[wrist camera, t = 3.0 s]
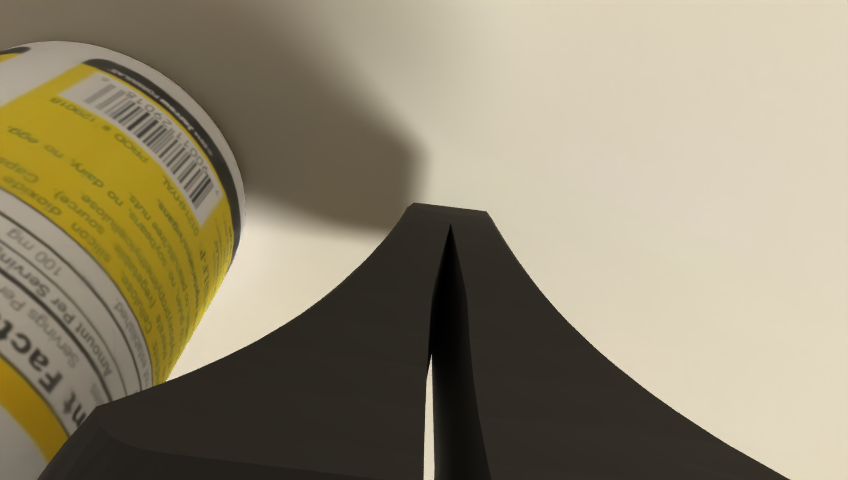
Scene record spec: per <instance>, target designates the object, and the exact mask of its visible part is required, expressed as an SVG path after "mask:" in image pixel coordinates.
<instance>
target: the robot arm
mask: <svg viewBox="0 0 848 480" xmlns="http://www.w3.org/2000/svg"><path fill="white" fill-rule="evenodd" d="M431 355H432V385H433V424H434V462H435V473H434V480H790V479H788V478H786V477H784V476H783V475H781V474H779V473H777V472H775V471H774V470H772V469H770V468H768V467H767V466H765V465H763V464H761V463H759V462H758V461H756V460H754V459H752V458H751V457H749V456H747V455H745V454H744V453H742V452H740V451H738V450H736V449H735V448H733V447H731V446H729V445H728V444H726V443H724V442H723V441H721V440H719V439H718V438H716V437H715V436H713V435H712V434H710V433H709V432H707V431H706V430H704V429H702V428H701V427H699V426H698V425H696V424H695V423H693V422H692V421H690V420H689V419H687V418H686V417H684V416H683V415H681V414H680V413H678V412H677V411H675V410H674V409H672V408H671V407H669V406H668V405H667V404H665V403H664V402H662V401H661V400H660V399H658V398H657V397H655V396H654V395H653V394H651V393H650V392H648V391H647V390H646V389H645V388H643V387H642V386H641V385H639V384H638V383H637V382H636V381H634V380H633V379H632V378H631V377H629V376H628V375H627V374H626V373H624V372H623V371H622V370H621V369H619V368H618V367H617V366H615V365H614V364H613V363H612V362H611V361H610V360H608V359H607V358H606V357H605V356H604V355H603V354H601V353H600V352H599V351H598V350H597V349H596V348H595V347H594V346H593V345H592V344H590V343H589V342H588V341H587V340H586V339H585V338H584V337H583V336H582V335H581V334H580V333H579V332H578V331H577V330H576V329H575V328H574V327H573V326H572V325H571V324H570V323H569V322H568V321H567V320H566V319H565V318H564V317H563V316H562V315H561V314H560V313H559V312H558V311H557V310H556V308H555V307H554V306H553V305H552V304H551V303H550V301H549V300H548V299H547V298H546V297H545V296H544V294H543V293H542V292H541V291H540V290H539V288H538V287H537V286H536V285H535V283H534V282H533V281H532V279H531V278H530V276H529V275H528V274H527V272H526V271H525V270H524V268H523V267H522V265H521V264H520V263H519V261H518V260H517V258H516V257H515V255H514V254H513V252H512V251H511V249H510V248H509V246H508V245H507V243H506V242H505V240H504V238H503V237H502V235H501V234H500V232H499V230H498V229H497V227H496V225H495V223H494V222H493V220H492V218H491V217H490V216H489V214H488V213H487V212H486V211H479V210H471V209H462V208H454V207H446V206H438V205H430V204H421V203H413V204H412V205H410V206H409V207H408V208H407V209H406V211H405V213H404V214H403V216H402V217H401V219H400V220H399V222H398V223H397V224H396V226H395V227H394V228H393V230H392V231H391V232H390V233H389V235H388V236H387V237H386V238H385V239H384V240H383V242H382V243H381V244H380V245H379V246H378V247H377V248H376V249H375V250H374V252H373V253H372V254H371V255H370V256H369V257H368V258H367V259H366V260H365V261H364V262H363V263H362V264H361V265H360V266H359V267H358V268H357V269H355V270H354V271H353V272H352V273H351V274H350V275H349V276H348V277H347V278H346V279H345V280H344V281H343V282H342V283H340V284H339V285H338V286H337V287H336V288H335V289H333V290H332V291H331V292H330V293H328V294H327V295H326V296H325V297H323V298H322V299H321V300H320V301H318V302H317V303H315V304H314V305H313V306H311V307H310V308H309V309H307V310H306V311H305V312H303V313H302V314H300V315H299V316H297V317H296V318H294V319H293V320H291V321H289V322H288V323H286V324H285V325H283V326H281V327H280V328H278V329H276V330H275V331H273V332H271V333H269V334H268V335H266V336H264V337H263V338H261V339H259V340H258V341H256V342H254V343H252V344H250V345H248V346H246V347H244V348H242V349H240V350H238V351H236V352H234V353H232V354H230V355H228V356H226V357H224V358H221V359H219V360H217V361H215V362H213V363H210V364H208V365H206V366H204V367H201V368H199V369H197V370H195V371H192V372H190V373H187V374H185V375H183V376H180V377H178V378H175V379H172V380H169V381H167V382H164V383H161V384H158V385H156V386H153V387H150V388H148V389H145V390H142V391H139V392H137V393H134V394H131V395H128V396H126V397H123V398H120V399H117V400H114V401H111V402H108V403H105V404H102V405H99V406H96V407H95V408H94V409H93V411H92V412H91V413H90V414H89V416H88V417H87V418H86V419H85V421H84V422H83V423H82V424H81V425H80V426H79V427H78V428H77V430H76V431H75V432H74V433H73V434H72V435H71V436H70V437H69V438H68V440H67V441H66V442H65V443H64V444H63V446H62V447H61V448H60V449H59V451H58V452H57V453H56V455H55V456H54V457H53V459H52V460H51V461H50V462H49V464H48V465H47V466H46V468H45V469H44V471H43V472H42V473H41V475H40V476H39V478H38V479H37V480H423V478H424V432H425V402H426V380H427V374H428V370H429V365H430V360H431Z"/></svg>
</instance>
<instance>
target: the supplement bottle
mask: <svg viewBox="0 0 848 480" xmlns="http://www.w3.org/2000/svg"><path fill="white" fill-rule="evenodd" d="M245 216H246V207H245V194H244V187H243V182H242V178H241V174H240V171H239V168H238V166H237V163H236V160H235V158H234V155H233V153H232V151H231V149H230V148H229V146H228V144H227V142H226V140H225V139H224V137H223V135H222V133H221V132H220V130H219V129H218V127H217V126H216V125H215V123H214V122H213V121H212V120H211V118H210V117H209V116H208V115H207V113H206V112H205V111H204V110H203V109H202V108H201V107H200V106H199V105H198V104H197V103H196V102H195V101H194V100H193V99H192V98H191V97H190V96H189V95H188V94H187V93H186V92H185V91H184V90H183V89H181V88H180V87H179V86H178V85H177V84H175V83H174V82H172V81H171V80H170V79H168V78H167V77H166V76H164V75H163V74H161V73H160V72H158V71H156V70H154V69H153V68H151V67H149V66H147V65H146V64H144V63H142V62H140V61H138V60H135V59H133V58H131V57H129V56H126V55H124V54H121V53H118V52H115V51H113V50H110V49H107V48H103V47H99V46H95V45H90V44H85V43H77V42H67V41H46V42H33V43H28V44H23V45H19V46H15V47H11V48H8V49H5V50H2V51H0V480H37V479H38V478H39V476H40V475H41V473H42V472H43V471H44V469H45V468H46V466H47V465H48V464H49V462H50V461H51V460H52V459H53V457H54V456H55V455H56V453H57V452H58V451H59V449H60V448H61V447H62V446H63V444H64V443H65V442H66V441H67V440H68V438H69V437H70V436H71V435H72V434H73V433H74V432H75V431H76V430H77V428H78V427H79V426H80V425H81V424H82V423H83V422H84V421H85V419H86V418H87V417H88V416H89V414H90V413H91V412H92V411H93V409H94V408H95V407H96V406H99V405H102V404H105V403H108V402H111V401H114V400H117V399H120V398H123V397H126V396H128V395H131V394H134V393H137V392H139V391H142V390H145V389H148V388H150V387H153V386H156V385H158V384H161V383H164V382H166V380H167V378H168V377H169V375H170V373H171V371H172V370H173V368H174V366H175V364H176V362H177V360H178V359H179V357H180V356H181V354H182V352H183V350H184V348H185V346H186V345H187V343H188V342H189V340H190V338H191V336H192V335H193V333H194V331H195V329H196V327H197V326H198V324H199V322H200V320H201V319H202V317H203V315H204V313H205V311H206V310H207V308H208V307H209V305H210V303H211V301H212V300H213V298H214V296H215V294H216V293H217V291H218V289H219V287H220V285H221V283H222V281H223V279H224V277H225V275H226V273H227V272H228V270H229V268H230V266H231V264H232V262H233V260H234V258H235V256H236V253H237V251H238V249H239V246H240V243H241V240H242V236H243V231H244V226H245Z"/></svg>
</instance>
